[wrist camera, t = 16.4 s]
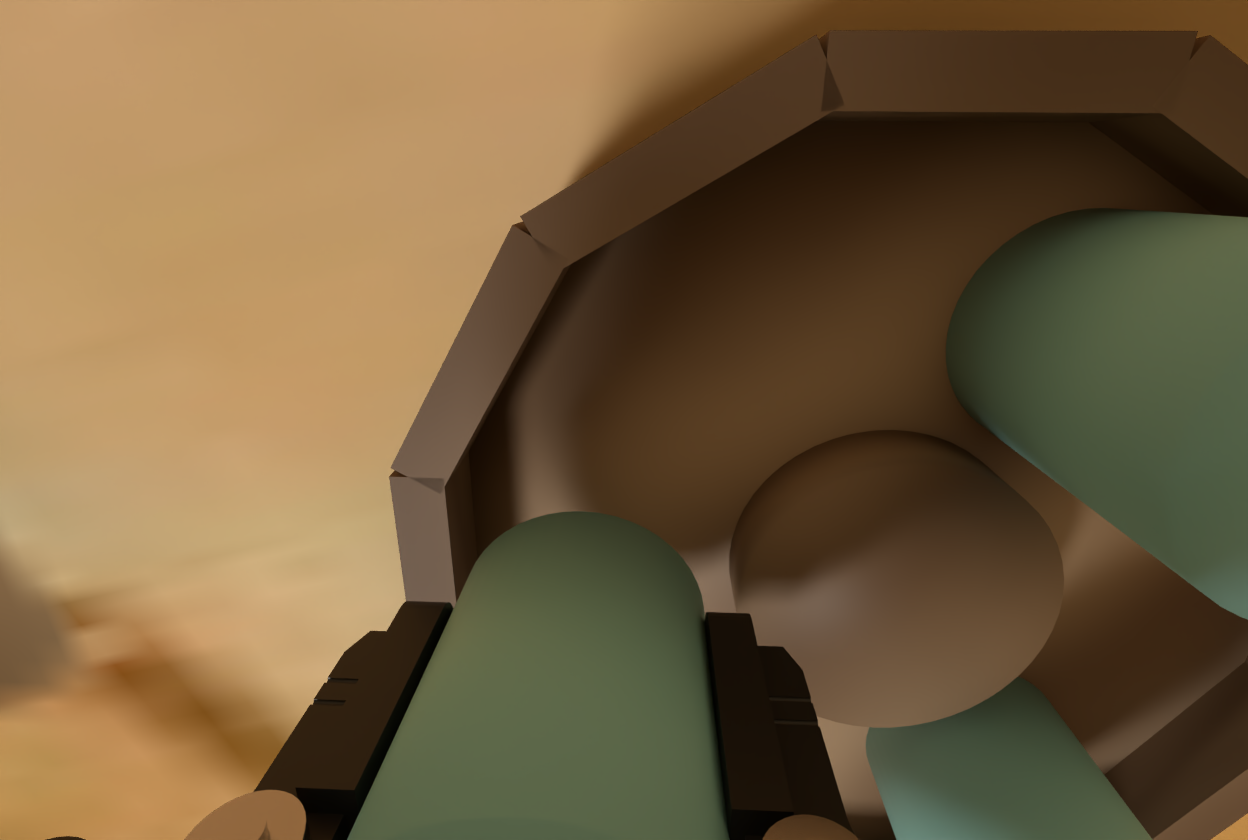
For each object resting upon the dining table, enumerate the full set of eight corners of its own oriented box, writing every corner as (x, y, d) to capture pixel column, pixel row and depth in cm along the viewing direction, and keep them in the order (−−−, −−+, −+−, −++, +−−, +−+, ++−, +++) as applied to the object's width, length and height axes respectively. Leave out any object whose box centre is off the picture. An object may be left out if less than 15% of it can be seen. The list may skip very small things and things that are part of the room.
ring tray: (1536, 406, 13) (1745, 460, 10) (913, 915, 19) (950, 1023, 17) (749, -190, 10) (779, -308, 8) (324, 636, 16) (265, 717, 14)
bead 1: (752, 585, 11) (838, 942, 6) (625, 742, 13) (606, 1136, 7) (532, 467, 10) (414, 750, 5) (424, 646, 12) (251, 1006, 7)
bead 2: (1256, 292, 11) (1768, 390, 6) (1071, 481, 13) (1358, 692, 7) (1067, 156, 11) (1461, 135, 5) (896, 372, 12) (1077, 518, 7)
